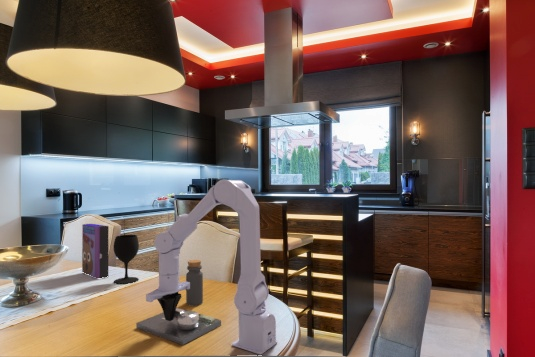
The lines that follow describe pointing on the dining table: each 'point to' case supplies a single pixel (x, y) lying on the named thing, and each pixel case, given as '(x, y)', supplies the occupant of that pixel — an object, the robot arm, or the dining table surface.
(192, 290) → the bottle
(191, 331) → the lever base plate
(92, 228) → the cereal box
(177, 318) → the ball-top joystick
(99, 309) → the dining table surface
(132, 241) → the wine glass
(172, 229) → the robot arm
